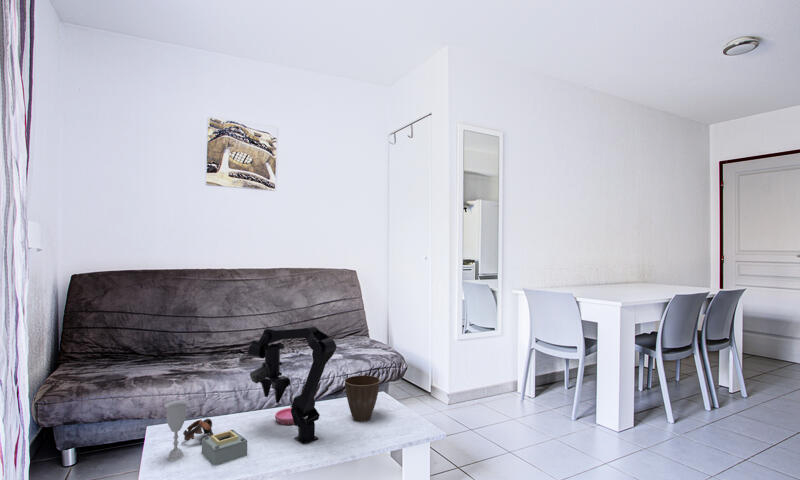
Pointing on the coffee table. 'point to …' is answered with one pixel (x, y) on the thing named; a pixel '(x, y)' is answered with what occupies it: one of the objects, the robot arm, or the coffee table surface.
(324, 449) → the coffee table surface
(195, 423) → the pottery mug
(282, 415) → the saucer
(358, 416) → the plant pot
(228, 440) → the grey box with opening
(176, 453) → the chalice
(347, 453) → the coffee table surface
